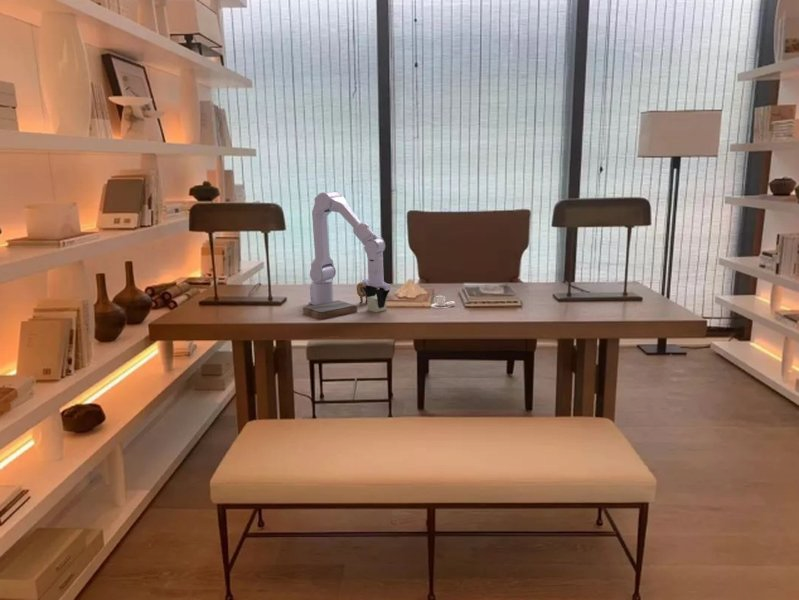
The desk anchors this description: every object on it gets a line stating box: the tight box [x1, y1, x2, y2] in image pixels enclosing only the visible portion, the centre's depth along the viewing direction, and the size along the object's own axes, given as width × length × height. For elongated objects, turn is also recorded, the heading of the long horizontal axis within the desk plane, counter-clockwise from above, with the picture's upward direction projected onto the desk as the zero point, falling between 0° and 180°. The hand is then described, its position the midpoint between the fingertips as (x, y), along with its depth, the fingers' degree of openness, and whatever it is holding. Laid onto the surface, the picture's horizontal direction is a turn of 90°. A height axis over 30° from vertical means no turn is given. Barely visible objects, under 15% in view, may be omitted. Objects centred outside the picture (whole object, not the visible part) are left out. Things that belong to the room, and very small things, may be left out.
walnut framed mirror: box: [302, 300, 358, 321], centre depth 235 cm, size 12×16×2 cm
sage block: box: [366, 295, 387, 313], centre depth 237 cm, size 5×5×5 cm
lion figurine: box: [356, 281, 379, 305], centre depth 250 cm, size 15×5×9 cm, turn 152°
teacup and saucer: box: [430, 295, 456, 309], centre depth 242 cm, size 9×8×4 cm
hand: (376, 306), depth 237 cm, fingers closed on sage block, 5 cm apart
